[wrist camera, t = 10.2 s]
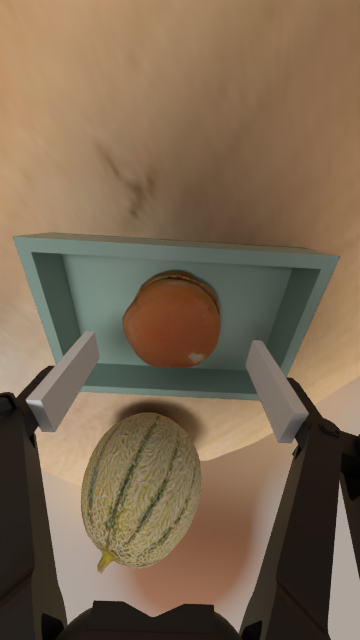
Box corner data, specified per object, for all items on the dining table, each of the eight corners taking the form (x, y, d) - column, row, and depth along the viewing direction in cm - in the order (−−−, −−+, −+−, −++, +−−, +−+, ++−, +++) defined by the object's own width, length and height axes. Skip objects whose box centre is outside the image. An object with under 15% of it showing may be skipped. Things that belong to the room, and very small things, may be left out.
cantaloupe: (208, 437, 33) (225, 584, 20) (134, 453, 35) (105, 591, 22) (176, 380, 26) (170, 542, 13) (89, 404, 29) (10, 559, 16)
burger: (152, 252, 17) (143, 263, 13) (234, 296, 19) (249, 317, 15) (118, 331, 22) (103, 358, 18) (189, 361, 24) (190, 391, 20)
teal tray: (51, 232, 17) (12, 236, 13) (305, 248, 18) (340, 256, 14) (83, 363, 25) (65, 390, 21) (261, 372, 25) (275, 401, 21)
